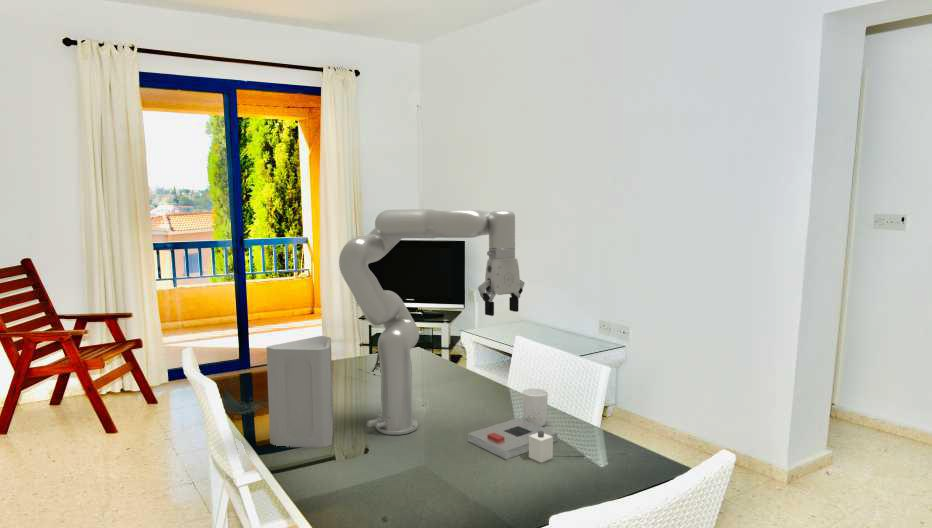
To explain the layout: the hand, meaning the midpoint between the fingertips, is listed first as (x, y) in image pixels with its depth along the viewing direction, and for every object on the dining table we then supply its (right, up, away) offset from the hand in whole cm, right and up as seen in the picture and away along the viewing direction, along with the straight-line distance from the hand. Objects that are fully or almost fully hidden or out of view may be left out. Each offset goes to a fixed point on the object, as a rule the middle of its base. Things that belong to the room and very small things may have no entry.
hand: (501, 313), depth 173 cm
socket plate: (+3, -37, -1) cm, 37 cm away
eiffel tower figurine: (-47, -30, +73) cm, 92 cm away
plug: (+10, -38, -13) cm, 41 cm away
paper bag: (-55, -37, +1) cm, 66 cm away
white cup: (+11, -36, +13) cm, 39 cm away
